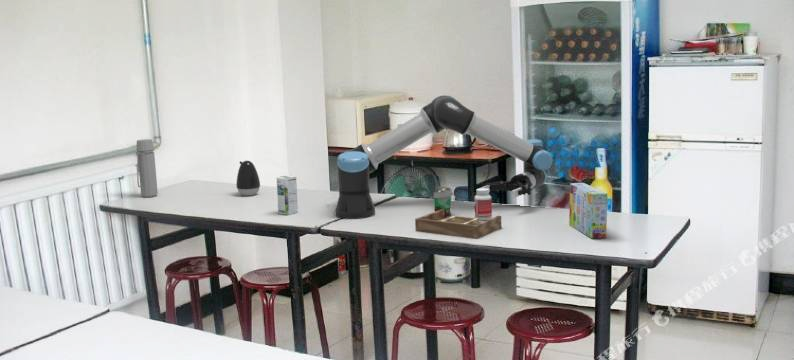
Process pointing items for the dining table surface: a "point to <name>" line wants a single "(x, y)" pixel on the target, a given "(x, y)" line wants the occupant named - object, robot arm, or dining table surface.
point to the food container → (443, 200)
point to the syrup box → (287, 195)
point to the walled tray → (456, 225)
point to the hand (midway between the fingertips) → (496, 193)
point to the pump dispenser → (247, 179)
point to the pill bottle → (483, 204)
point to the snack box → (588, 210)
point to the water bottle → (146, 168)
